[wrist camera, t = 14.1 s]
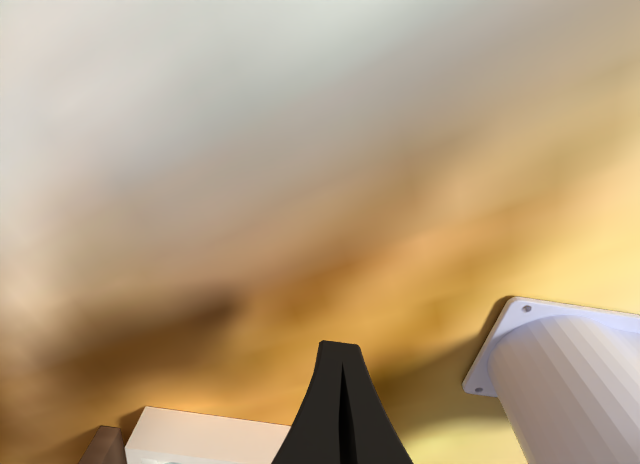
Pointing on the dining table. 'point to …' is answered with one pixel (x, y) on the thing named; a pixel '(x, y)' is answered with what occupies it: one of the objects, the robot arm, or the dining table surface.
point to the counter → (105, 448)
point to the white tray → (201, 439)
